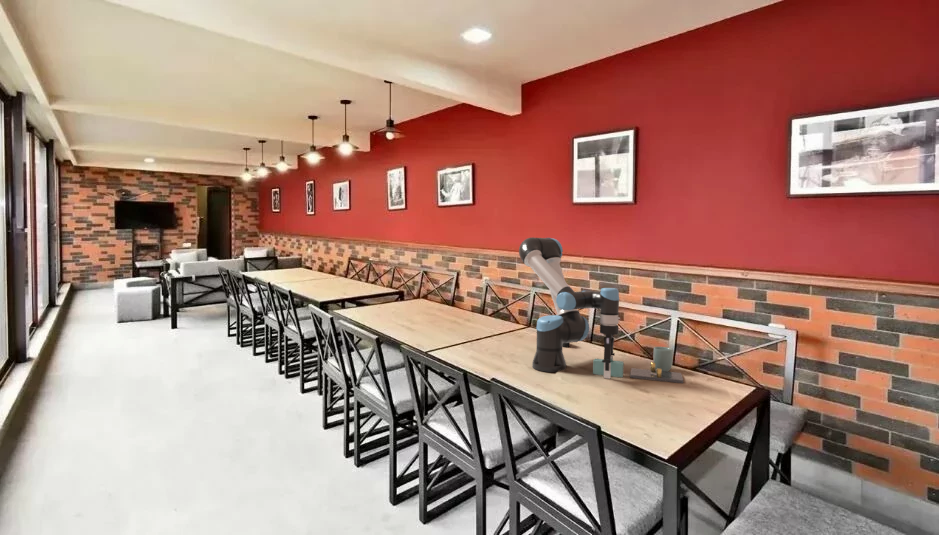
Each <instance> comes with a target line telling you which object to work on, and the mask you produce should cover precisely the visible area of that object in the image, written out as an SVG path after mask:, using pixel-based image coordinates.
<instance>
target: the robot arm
mask: <svg viewBox="0 0 939 535" xmlns="http://www.w3.org/2000/svg"><path fill="white" fill-rule="evenodd" d="M563 252H564V250H563V246H562V243H561V241H559V240H558V239H556V238H553V237H552V238H551V237H534V236H533V237H528V238H525V239H524V240H523V241H521V243H520V245H519V248H518V254H519V257H520V258H519V259H520V260H521V261H522V263H523V264H524V265H525V266H526V267H530V269H531V270H532V271H533V273H535V275H537V277H538V278H539V279H540V281H542V282H543V284H544V285H545V286H546V287H547V288H548V289H549V292H550V296H551V299H552V302H553V304H554V305H553V306H554V308H555V311H556V314H555V315H554V314H552V315H544V316H540V317H539V318H538V319H537V321H536V348H535V349H536V351H535V354H534V357H533V359H532V364H531V365H532V369H534V370H537V371H540V372H545V373H546V372H549V373H557V372H560V371H565V370H566V369H567V363H566V360H565V356H564V353H563V347H562V344H563V343H578V342H582V341H584V340H585V339H586V338H587V337H588V335H589V332H590V323H589V321H588V319H587V318H586V317H584V316H583V315H581V314H580V310H584V309H598V310H600V312H599V323H600V325H599V333H600V334H602V335H605V337H604V338H603V348H604V350H603V359H604V360H602V362H604V375H603V378H604V379H608V380H609V379H611V377H612V376H611V363H610V362H611V361H610V360H611V358H612V359H613V360H614V356H615V355H616V354H615V352H614V344H615V343H614V342H615V338H614V335H619V325H618V324H619V320H621V317H619V314H620V313H619V307H620V305H619V304H620V292H619V289H618V288H614V287H603V288H600V291H595V290H590V289H588V290H580V291H575V290H574V289H572V287H570V285H569V284H568V283H567V281H566V279H565V276H564V274H563V271H562V267H561V264H560V263H561V261H562V257H563Z"/></svg>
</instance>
